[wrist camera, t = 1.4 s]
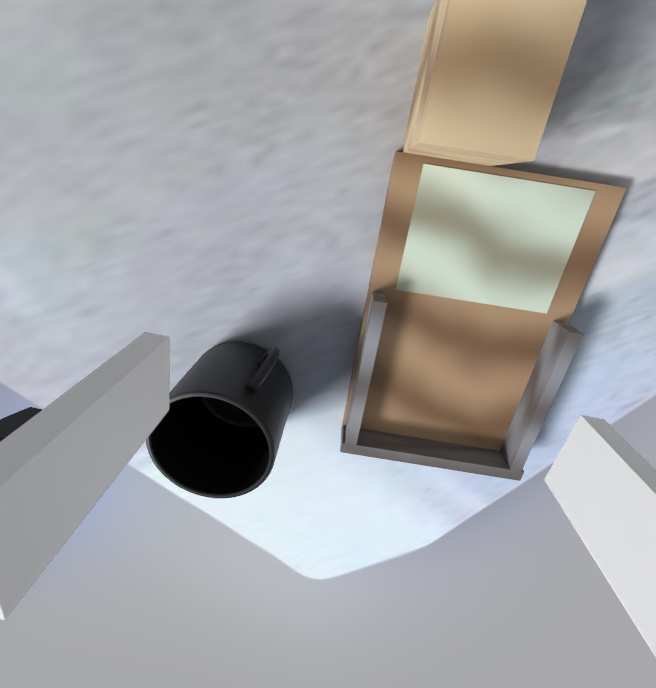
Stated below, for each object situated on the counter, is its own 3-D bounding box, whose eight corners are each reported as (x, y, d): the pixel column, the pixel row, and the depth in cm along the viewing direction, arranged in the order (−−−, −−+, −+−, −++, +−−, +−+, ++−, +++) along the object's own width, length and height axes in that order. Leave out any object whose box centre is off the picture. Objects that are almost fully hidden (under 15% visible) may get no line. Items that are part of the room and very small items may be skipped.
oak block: (430, 12, 24) (464, -64, 16) (524, 27, 24) (600, -43, 16) (401, 153, 27) (419, 142, 20) (485, 166, 27) (534, 160, 20)
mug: (330, 359, 34) (322, 417, 25) (258, 444, 38) (232, 518, 29) (240, 297, 32) (200, 337, 23) (176, 393, 36) (123, 456, 28)
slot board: (395, 152, 27) (400, 148, 24) (617, 187, 27) (653, 188, 24) (341, 428, 36) (340, 451, 33) (505, 454, 36) (520, 480, 33)
